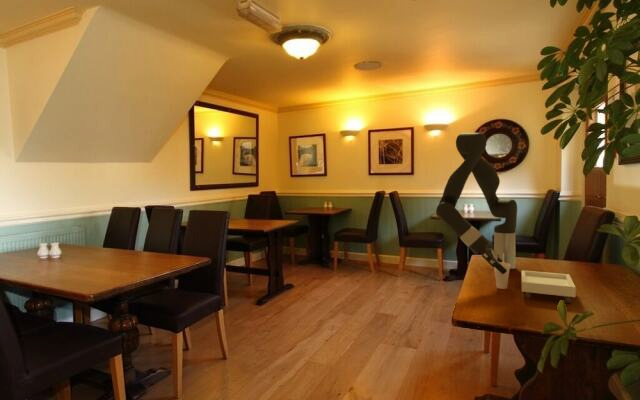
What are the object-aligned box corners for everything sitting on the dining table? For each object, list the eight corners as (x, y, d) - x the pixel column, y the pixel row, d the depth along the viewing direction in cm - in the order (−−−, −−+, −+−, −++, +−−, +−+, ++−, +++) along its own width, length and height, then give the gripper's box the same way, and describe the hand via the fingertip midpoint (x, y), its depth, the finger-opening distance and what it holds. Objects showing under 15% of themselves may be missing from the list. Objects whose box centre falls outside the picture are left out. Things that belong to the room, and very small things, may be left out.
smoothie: (512, 290, 144) (513, 254, 143) (495, 289, 146) (495, 254, 145) (507, 285, 151) (508, 251, 150) (491, 284, 152) (491, 251, 151)
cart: (521, 285, 149) (521, 270, 149) (568, 290, 142) (569, 274, 141) (521, 299, 133) (521, 281, 133) (575, 305, 126) (575, 287, 125)
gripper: (479, 236, 144) (512, 268, 139) (482, 231, 157) (513, 260, 152) (465, 249, 147) (497, 280, 142) (469, 243, 159) (498, 271, 155)
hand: (505, 270), depth 147 cm, fingers open, 8 cm apart
